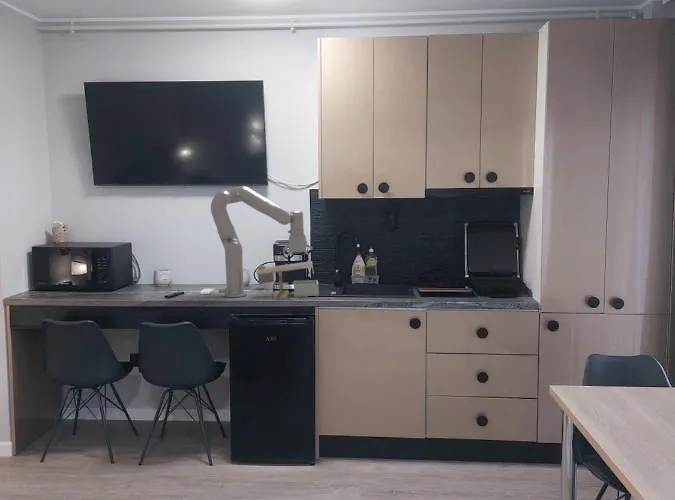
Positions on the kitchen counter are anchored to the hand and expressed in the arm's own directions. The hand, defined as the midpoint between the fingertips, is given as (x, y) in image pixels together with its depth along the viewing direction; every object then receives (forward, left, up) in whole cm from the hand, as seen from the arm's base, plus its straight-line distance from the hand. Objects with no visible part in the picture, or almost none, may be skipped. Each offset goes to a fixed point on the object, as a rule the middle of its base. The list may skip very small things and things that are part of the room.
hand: (298, 262), depth 348 cm
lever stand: (-10, -10, -17) cm, 23 cm away
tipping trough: (-7, -5, -8) cm, 12 cm away
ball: (-20, -10, -2) cm, 23 cm away
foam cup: (-18, +15, -18) cm, 29 cm away
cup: (+4, -10, -17) cm, 20 cm away
